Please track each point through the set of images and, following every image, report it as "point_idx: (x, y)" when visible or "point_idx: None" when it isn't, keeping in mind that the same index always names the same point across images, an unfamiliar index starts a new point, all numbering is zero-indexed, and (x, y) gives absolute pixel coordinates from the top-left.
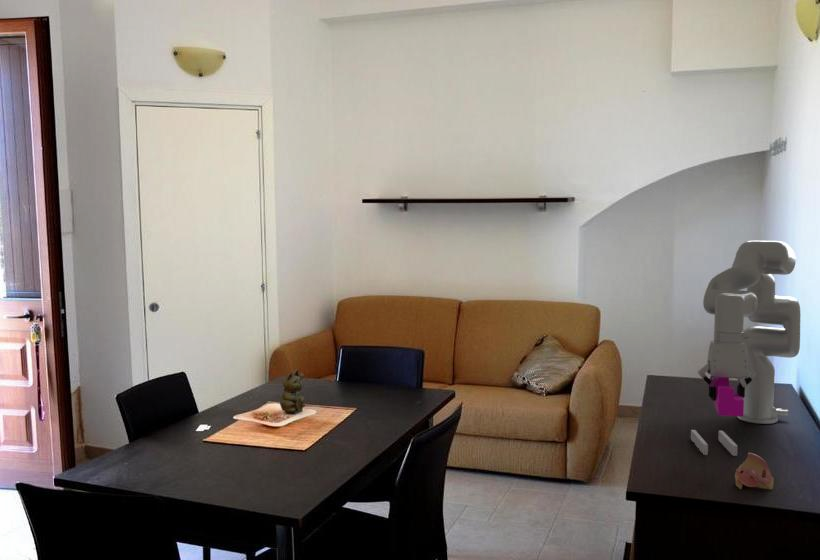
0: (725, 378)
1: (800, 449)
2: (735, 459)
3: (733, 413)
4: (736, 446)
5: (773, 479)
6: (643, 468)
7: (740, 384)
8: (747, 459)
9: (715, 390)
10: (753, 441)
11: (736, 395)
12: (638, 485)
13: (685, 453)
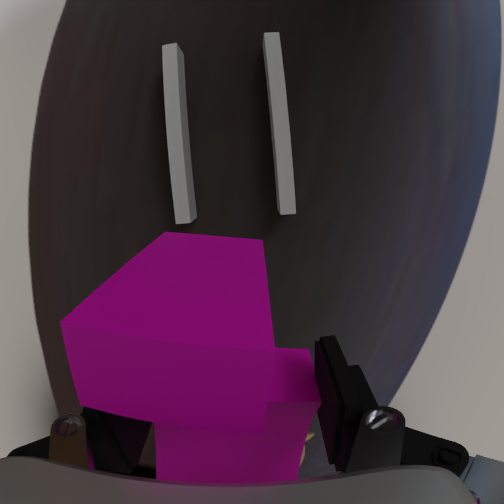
0: (214, 425)
1: (472, 124)
2: (277, 246)
3: None
4: (292, 213)
5: (313, 433)
6: (52, 350)
7: (345, 467)
8: None
9: (136, 455)
10: (372, 49)
11: (299, 407)
12: None
13: (132, 215)
